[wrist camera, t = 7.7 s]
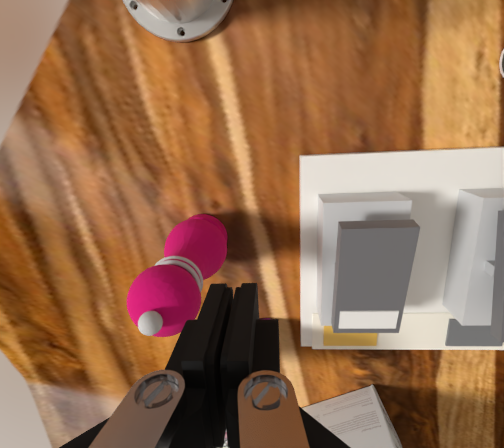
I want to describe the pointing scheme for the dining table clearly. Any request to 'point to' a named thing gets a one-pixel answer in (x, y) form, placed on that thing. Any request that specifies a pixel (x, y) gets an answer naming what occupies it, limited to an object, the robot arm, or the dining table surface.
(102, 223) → the dining table surface
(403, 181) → the switch unit
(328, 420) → the supplement box
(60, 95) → the dining table surface
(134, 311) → the pepper mill
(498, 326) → the plain switch
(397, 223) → the marked switch
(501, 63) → the supplement bottle
